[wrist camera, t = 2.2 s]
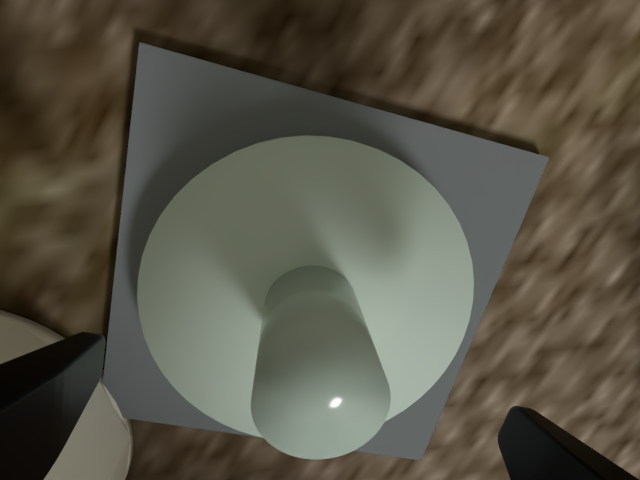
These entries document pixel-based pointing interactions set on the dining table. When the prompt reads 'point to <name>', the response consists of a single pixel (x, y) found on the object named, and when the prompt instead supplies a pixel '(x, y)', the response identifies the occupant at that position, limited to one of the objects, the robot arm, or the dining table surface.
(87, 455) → the bowl
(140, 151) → the mat
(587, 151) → the dining table surface
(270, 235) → the lid
